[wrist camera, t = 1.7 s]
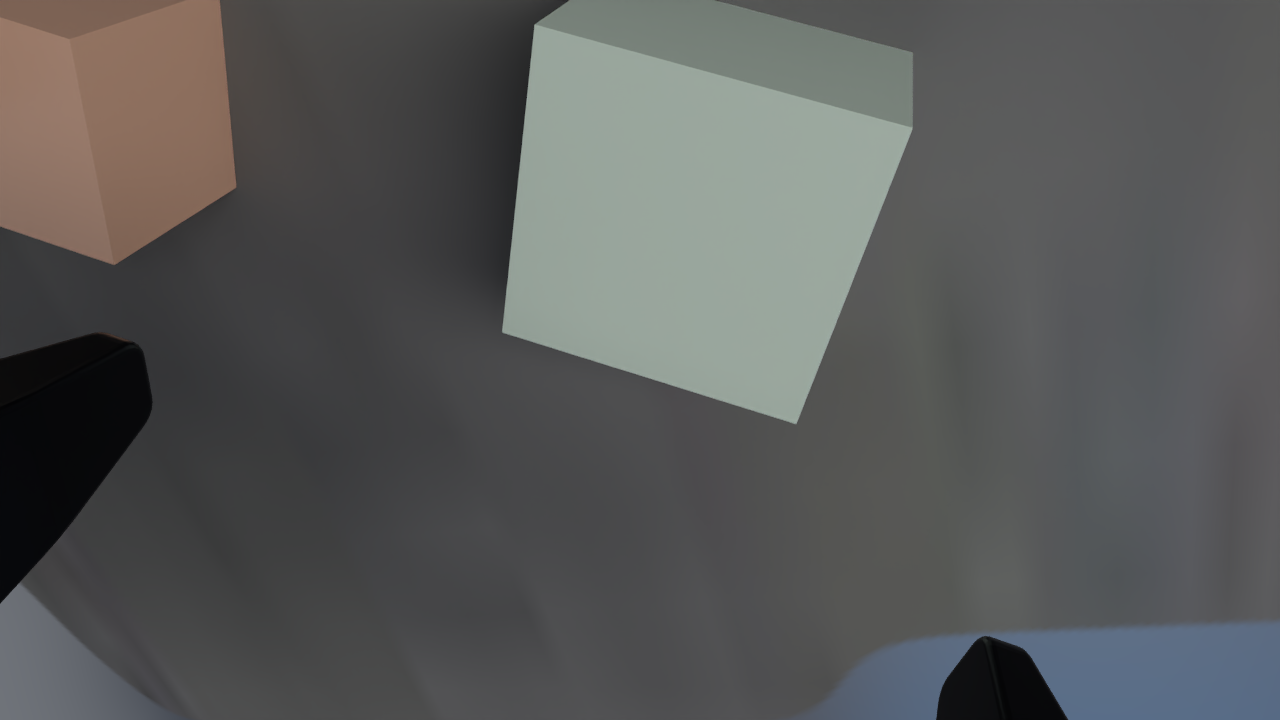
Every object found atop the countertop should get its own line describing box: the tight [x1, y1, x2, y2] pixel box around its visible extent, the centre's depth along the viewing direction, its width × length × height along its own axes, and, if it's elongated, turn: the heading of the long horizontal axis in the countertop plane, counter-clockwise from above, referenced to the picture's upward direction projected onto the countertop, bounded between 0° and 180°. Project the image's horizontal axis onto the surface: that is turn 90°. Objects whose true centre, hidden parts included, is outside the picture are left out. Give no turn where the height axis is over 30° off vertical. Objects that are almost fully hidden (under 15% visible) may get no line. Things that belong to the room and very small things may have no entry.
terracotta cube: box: [0, 0, 236, 265], centre depth 17 cm, size 4×4×4 cm
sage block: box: [502, 0, 913, 424], centre depth 15 cm, size 6×6×4 cm
